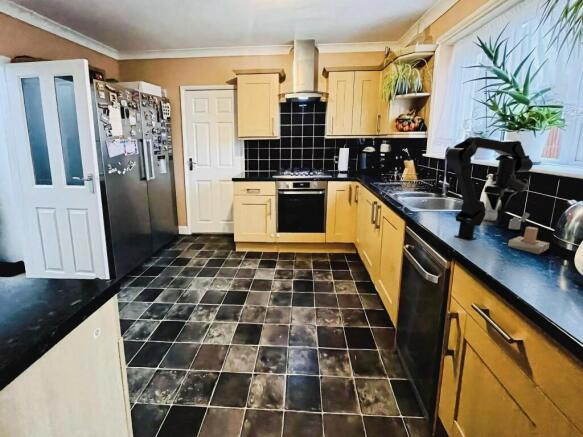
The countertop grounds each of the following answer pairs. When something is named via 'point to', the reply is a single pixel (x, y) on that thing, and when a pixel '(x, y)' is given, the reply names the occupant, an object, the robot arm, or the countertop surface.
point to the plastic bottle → (490, 210)
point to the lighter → (517, 221)
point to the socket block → (528, 245)
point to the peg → (530, 235)
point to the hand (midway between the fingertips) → (498, 208)
